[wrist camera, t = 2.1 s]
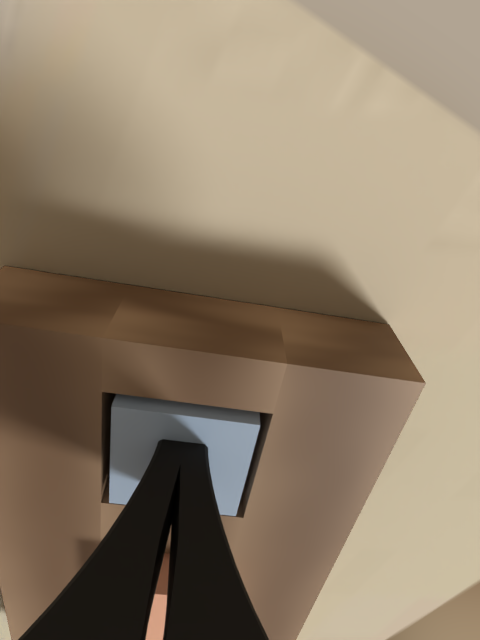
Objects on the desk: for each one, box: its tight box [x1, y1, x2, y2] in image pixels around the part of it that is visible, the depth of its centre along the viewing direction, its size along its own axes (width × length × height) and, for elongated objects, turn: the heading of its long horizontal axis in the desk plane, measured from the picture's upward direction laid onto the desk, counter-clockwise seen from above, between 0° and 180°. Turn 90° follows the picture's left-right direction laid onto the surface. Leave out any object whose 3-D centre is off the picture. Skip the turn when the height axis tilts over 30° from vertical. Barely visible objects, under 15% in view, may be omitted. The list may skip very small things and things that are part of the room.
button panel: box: [0, 266, 426, 640], centre depth 17 cm, size 12×22×3 cm, turn 170°
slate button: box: [109, 394, 260, 516], centre depth 13 cm, size 4×4×2 cm
